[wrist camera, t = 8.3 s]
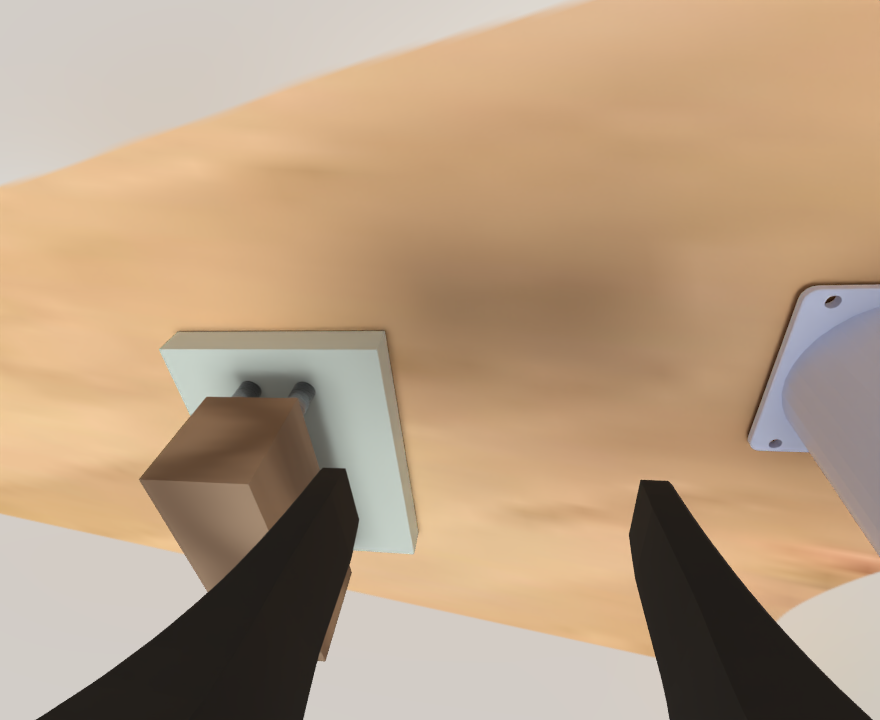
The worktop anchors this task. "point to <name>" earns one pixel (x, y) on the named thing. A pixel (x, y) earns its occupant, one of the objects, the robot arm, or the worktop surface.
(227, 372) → the peg stand
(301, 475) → the walnut plank
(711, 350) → the worktop surface
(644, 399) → the worktop surface
